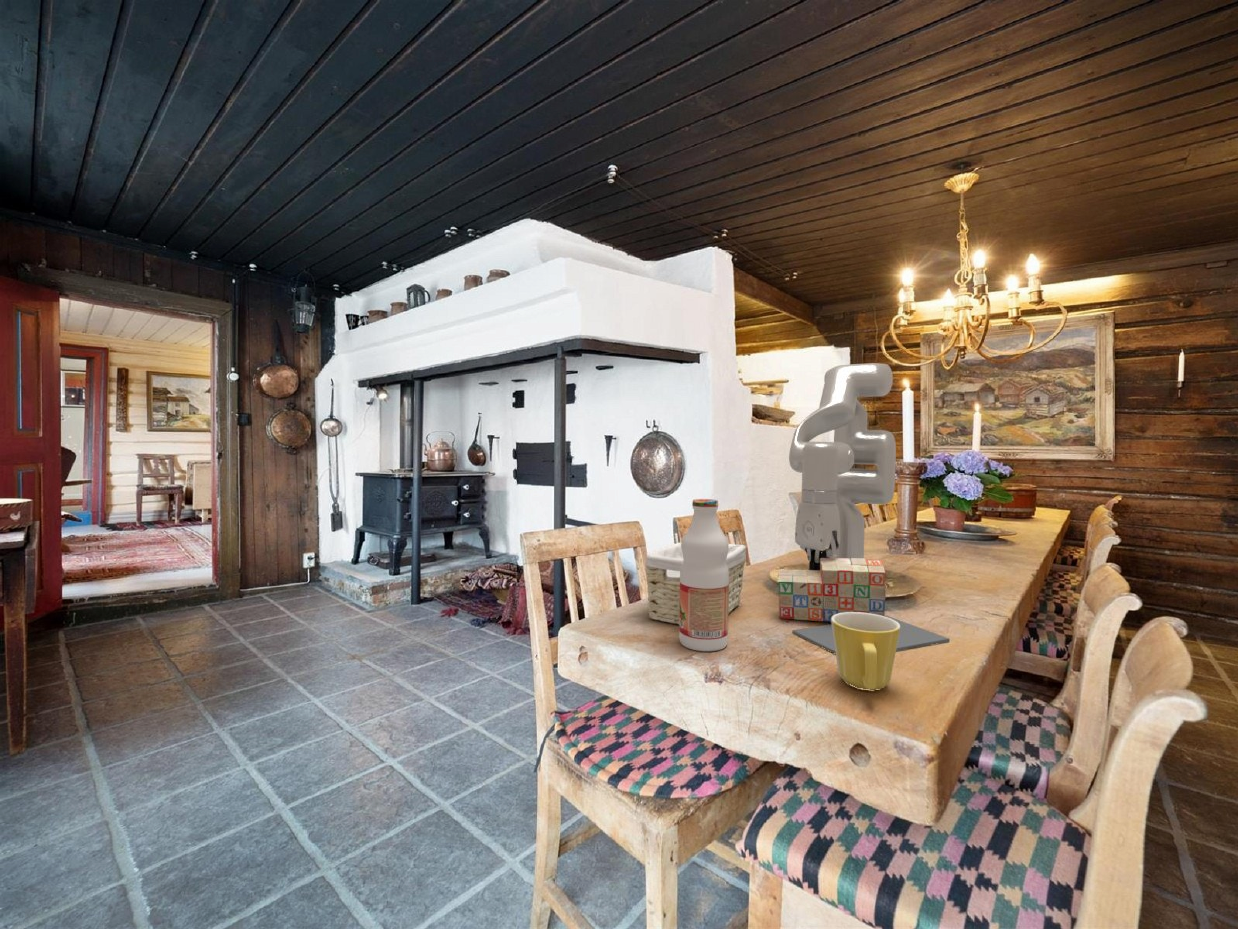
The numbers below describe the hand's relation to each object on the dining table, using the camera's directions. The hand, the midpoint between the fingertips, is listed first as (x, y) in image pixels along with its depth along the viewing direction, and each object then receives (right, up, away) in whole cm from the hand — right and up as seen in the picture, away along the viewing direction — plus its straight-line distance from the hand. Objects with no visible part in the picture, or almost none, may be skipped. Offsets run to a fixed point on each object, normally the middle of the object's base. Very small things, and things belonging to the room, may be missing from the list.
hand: (817, 578), depth 126 cm
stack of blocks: (+2, -8, -3) cm, 8 cm away
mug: (-6, -10, -36) cm, 38 cm away
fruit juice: (-28, -9, -17) cm, 34 cm away
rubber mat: (+6, -9, -14) cm, 17 cm away
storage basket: (-27, -8, +2) cm, 28 cm away
